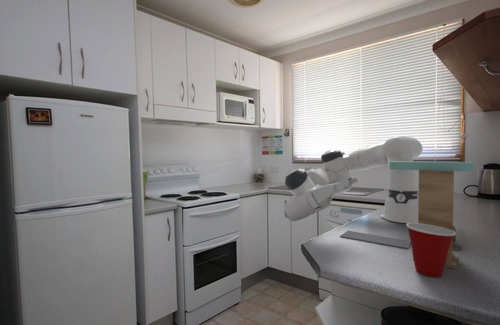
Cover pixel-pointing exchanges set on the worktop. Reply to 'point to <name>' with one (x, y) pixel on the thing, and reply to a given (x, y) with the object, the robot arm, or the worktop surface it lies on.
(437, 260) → the plastic cup
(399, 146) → the robot arm
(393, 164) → the block
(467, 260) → the worktop surface
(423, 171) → the stand
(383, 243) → the mat
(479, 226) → the worktop surface
